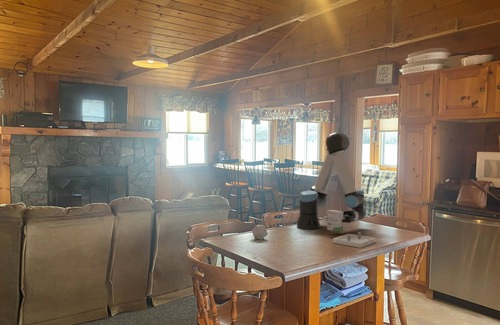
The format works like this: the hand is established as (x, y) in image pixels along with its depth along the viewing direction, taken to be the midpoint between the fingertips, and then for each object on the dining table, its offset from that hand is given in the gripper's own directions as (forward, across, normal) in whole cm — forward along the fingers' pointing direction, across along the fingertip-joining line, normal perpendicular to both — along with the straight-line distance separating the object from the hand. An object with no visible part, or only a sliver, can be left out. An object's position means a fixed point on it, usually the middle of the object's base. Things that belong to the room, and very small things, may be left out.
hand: (331, 220), depth 222 cm
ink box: (-5, 0, -7) cm, 8 cm away
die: (+35, +24, -10) cm, 44 cm away
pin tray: (+5, -18, -9) cm, 21 cm away
